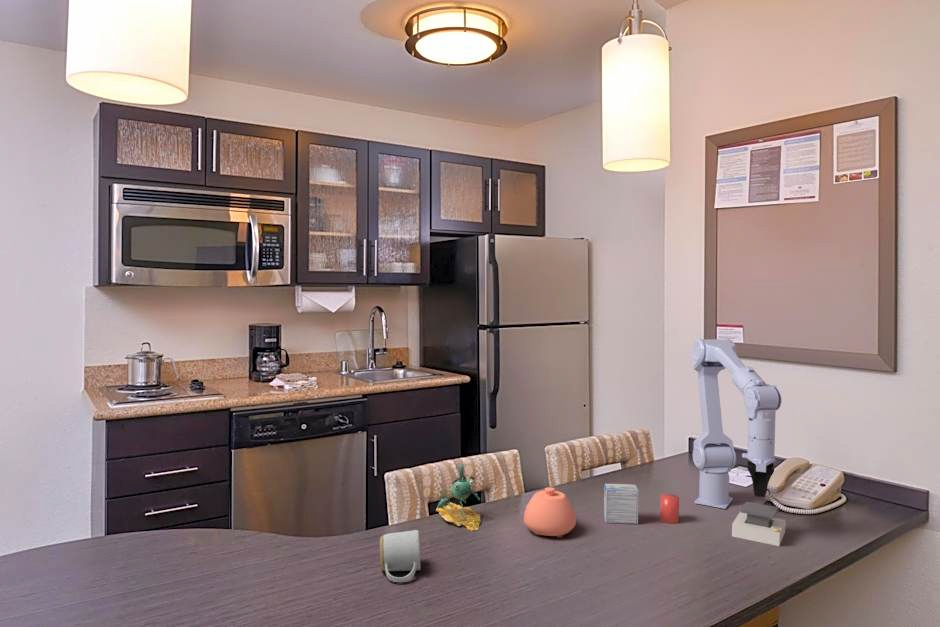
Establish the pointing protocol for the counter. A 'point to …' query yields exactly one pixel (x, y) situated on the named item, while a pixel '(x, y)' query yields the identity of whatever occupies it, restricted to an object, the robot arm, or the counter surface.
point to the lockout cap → (669, 508)
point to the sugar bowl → (549, 513)
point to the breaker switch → (759, 513)
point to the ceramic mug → (400, 554)
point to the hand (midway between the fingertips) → (759, 494)
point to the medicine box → (621, 503)
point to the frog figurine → (457, 512)
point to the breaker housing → (759, 530)
